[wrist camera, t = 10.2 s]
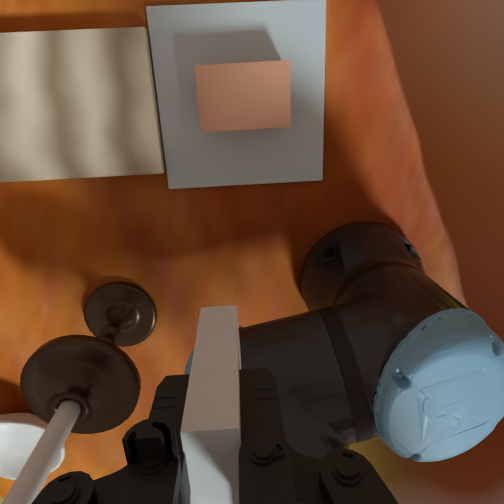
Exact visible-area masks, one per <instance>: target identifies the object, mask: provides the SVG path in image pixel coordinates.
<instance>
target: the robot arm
mask: <svg viewBox="0 0 504 504" xmlns="http://www.w3.org/2000/svg"><path fill="white" fill-rule="evenodd" d="M300 283H301V291H302V295H303V298H304V301H305V303H306V306H307V308H308V310H309V312H305V313H301V314H297V315H293V316H289V317H285V318H280V319H276V320H272V321H268V322H264V323H260V324H256V325H252V326H248V327H242V326H238V313H237V305H232V306H217V307H202V308H201V311H200V317H199V323H198V329H197V335H196V341H195V347H194V349H193V351H192V352H191V354H190V356H189V360H188V363H187V365H186V368H185V373H184V375H172V376H166V377H165V378H164V379H163V380H162V382H161V383H160V384H159V385H158V386H157V390H156V393H155V397H154V401H153V404H152V408H151V411H150V415H149V418H148V419H146V420H143V421H141V422H139V423H137V424H135V425H134V426H133V427H132V428H130V429H129V430H128V431H127V432H126V434H125V436H124V437H123V439H122V442H123V447H124V451H125V456H126V460H127V466H125V467H124V468H122V469H121V470H119V471H117V472H114V473H112V474H110V475H107V476H104V477H101V478H99V479H96V480H92V478H91V477H90V475H89V474H87V473H84V472H82V471H75V472H69V473H66V474H63V475H60V476H59V477H57V478H55V479H54V480H52V481H51V482H49V483H48V484H47V485H46V486H45V487H44V488H43V489H42V490H41V492H40V493H39V494H38V495H37V497H36V498H35V499H34V501H33V502H32V503H31V504H190V500H191V504H398V503H397V501H396V499H395V498H394V497H393V495H392V493H391V492H390V491H389V489H388V488H387V486H386V485H385V483H384V482H383V480H382V479H381V477H380V476H379V475H378V473H377V472H376V470H375V469H374V467H373V466H372V464H371V463H370V462H369V461H368V460H367V459H366V458H365V457H364V456H362V455H361V454H359V453H357V452H355V451H353V450H350V444H353V443H358V442H362V441H367V440H370V439H376V438H380V437H381V438H382V440H383V442H384V443H386V445H387V446H389V447H390V448H391V449H392V450H393V451H394V452H395V453H397V454H398V455H400V456H402V457H406V458H408V457H410V456H411V458H412V459H413V460H415V461H420V462H431V461H440V460H444V459H447V458H450V457H453V456H456V455H458V454H461V453H463V452H465V451H467V450H468V449H470V448H472V447H473V446H475V445H476V444H478V443H479V442H480V441H482V440H483V439H484V438H485V437H486V436H487V435H488V434H489V433H491V432H492V431H493V429H494V427H495V426H496V424H497V423H498V422H499V421H500V420H501V419H502V418H503V416H504V343H503V342H502V341H501V339H500V338H499V337H498V336H497V335H496V334H495V333H494V332H493V331H492V330H491V329H490V328H489V327H488V326H487V325H486V323H485V322H484V321H483V319H482V318H481V317H480V316H479V315H477V314H476V313H474V312H473V311H470V310H469V309H468V308H467V307H465V306H464V305H463V304H462V303H460V302H459V301H458V300H457V299H455V298H454V297H453V296H452V295H450V294H449V293H448V292H447V291H445V290H444V289H443V288H442V287H440V286H439V285H438V284H437V283H435V282H434V281H433V280H432V279H431V278H429V277H428V276H427V275H426V274H425V271H424V268H423V265H422V262H421V259H420V257H419V255H418V253H417V251H416V249H415V248H414V247H413V245H412V244H411V243H410V242H409V241H408V240H407V239H406V238H405V237H404V236H402V235H401V234H399V233H398V232H397V231H395V230H394V229H392V228H390V227H388V226H385V225H383V224H379V223H374V222H356V223H351V224H347V225H344V226H341V227H339V228H337V229H335V230H333V231H331V232H329V233H328V234H326V235H325V236H324V237H323V238H321V239H320V240H319V241H318V242H317V243H316V244H315V245H314V247H313V248H312V249H311V251H310V252H309V254H308V255H307V257H306V259H305V262H304V264H303V267H302V271H301V280H300Z"/></svg>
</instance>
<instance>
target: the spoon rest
mask: <svg viewBox="0 0 504 504" xmlns="http://www.w3.org/2000/svg"><path fill="white" fill-rule="evenodd" d="M47 426H48V423H46V422H45V421H43V420H42V419H40V418H39V417H38V416H37V415H35V414H31V413H9V414H1V415H0V477H3V478H7V479H12V480H16V479H17V477H18V475H19V473H20V472H21V470H22V468H23V467H24V465H25V463H26V462H27V460H28V458H29V456H30V455H31V453H32V451H33V450H34V448H35V446H36V445H37V443H38V441H39V439H40V438H41V436H42V434H43V433H44V431H45V429H46V428H47ZM64 457H65V446H63V447H62V449H61V451H60V453H59V455H58V457H57V459H56V461H55V463H54V465H53V467H52V469H51V471H50V473H51V472H52V471H54V470H55V469H56V468H58V467H59V465H60V464H61V463H62V461H63V459H64Z"/></svg>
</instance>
